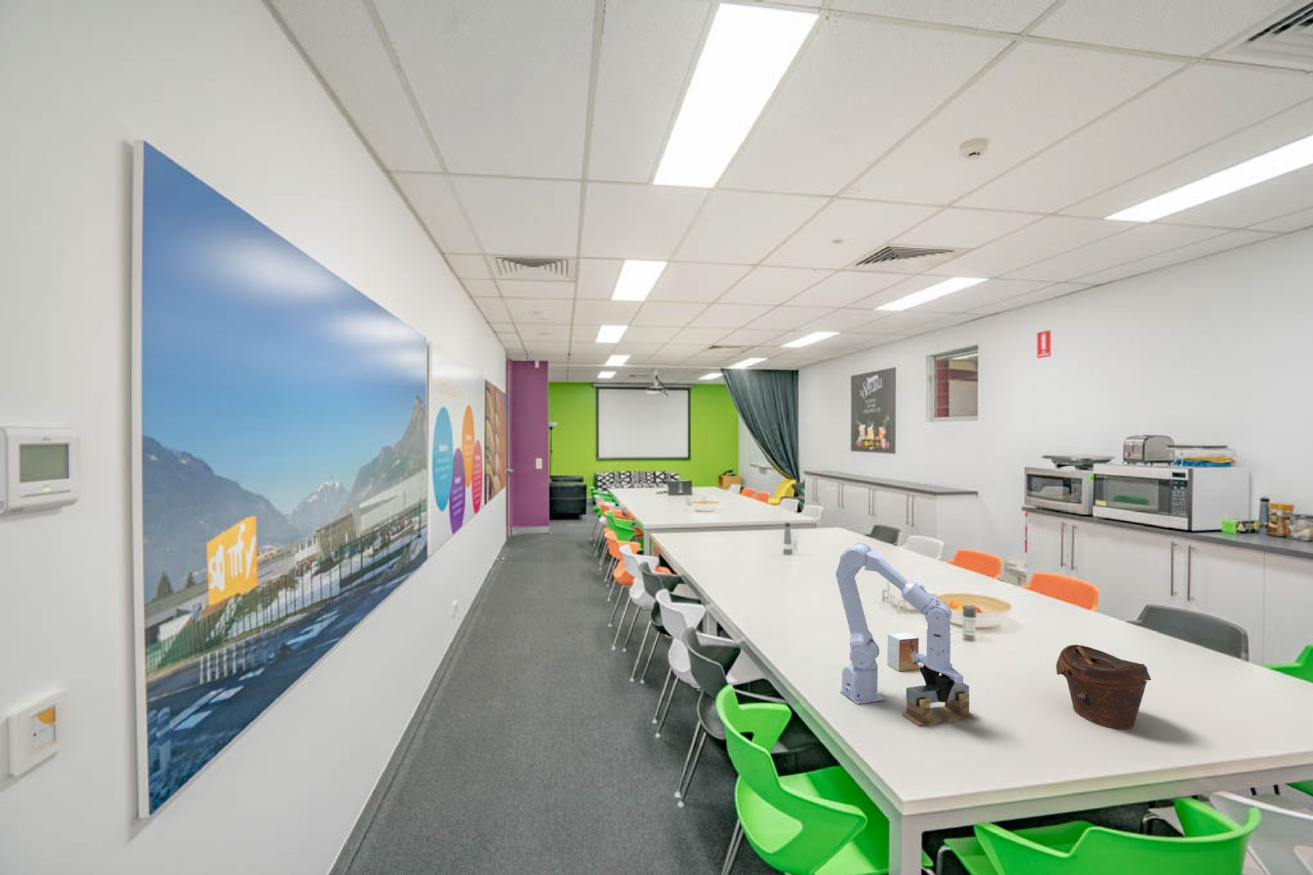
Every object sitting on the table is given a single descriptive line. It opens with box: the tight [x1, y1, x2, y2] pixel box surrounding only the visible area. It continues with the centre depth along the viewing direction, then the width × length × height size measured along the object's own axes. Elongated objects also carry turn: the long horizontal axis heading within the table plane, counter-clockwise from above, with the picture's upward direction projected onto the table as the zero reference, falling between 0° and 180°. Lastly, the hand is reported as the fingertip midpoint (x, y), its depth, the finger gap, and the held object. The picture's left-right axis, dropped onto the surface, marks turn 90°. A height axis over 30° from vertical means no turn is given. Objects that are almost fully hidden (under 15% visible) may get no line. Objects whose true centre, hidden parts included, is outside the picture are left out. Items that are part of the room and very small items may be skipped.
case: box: [1055, 644, 1152, 730], centre depth 144 cm, size 18×20×18 cm
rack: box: [901, 692, 974, 728], centre depth 142 cm, size 18×6×6 cm, turn 106°
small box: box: [886, 631, 920, 672], centre depth 174 cm, size 8×6×10 cm
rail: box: [905, 682, 970, 705], centre depth 142 cm, size 18×3×3 cm, turn 106°
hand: (937, 698), depth 142 cm, fingers closed on rail, 3 cm apart
